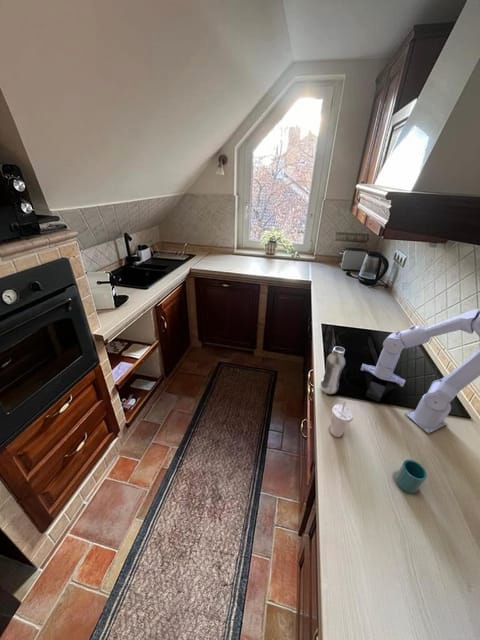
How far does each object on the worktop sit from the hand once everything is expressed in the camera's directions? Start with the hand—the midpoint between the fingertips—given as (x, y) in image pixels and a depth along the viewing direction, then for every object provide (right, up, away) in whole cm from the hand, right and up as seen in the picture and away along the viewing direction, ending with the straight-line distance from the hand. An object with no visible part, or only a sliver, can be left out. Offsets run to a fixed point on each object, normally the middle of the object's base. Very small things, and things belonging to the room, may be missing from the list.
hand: (375, 390), depth 98 cm
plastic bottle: (-18, 0, +2) cm, 18 cm away
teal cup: (-7, -18, -28) cm, 34 cm away
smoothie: (-21, -10, -15) cm, 27 cm away
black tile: (0, -1, +1) cm, 1 cm away
